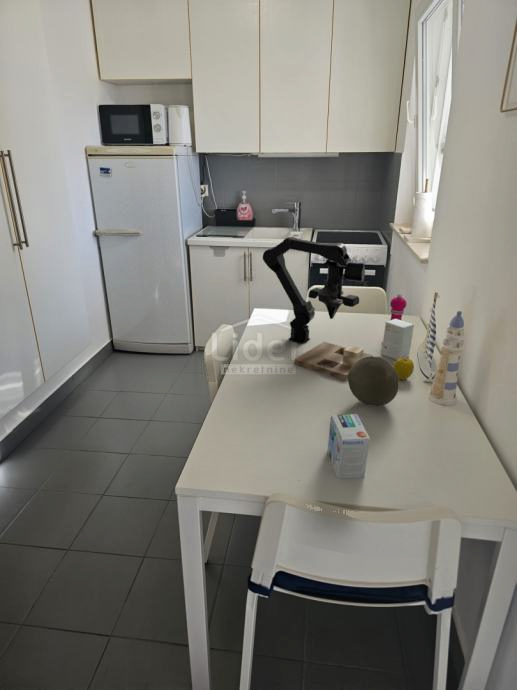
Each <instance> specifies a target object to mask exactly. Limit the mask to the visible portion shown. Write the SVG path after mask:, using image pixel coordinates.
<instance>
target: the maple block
mask: <svg viewBox="0 0 517 690" xmlns="http://www.w3.org/2000/svg"><path fill="white" fill-rule="evenodd" d="M345 348H346V349H344V353H342V355H343V363H345V364H348V365H351V366H353V365H354V364H355V363H356V362H357V361H358V360H360V359H362V358H363V353H364V348H362V347H357V346H354V345H348V346H347V347H345Z"/></svg>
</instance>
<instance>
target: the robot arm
mask: <svg viewBox="0 0 517 690" xmlns="http://www.w3.org/2000/svg"><path fill="white" fill-rule="evenodd" d="M289 250H294V251H298V252H299V251H300V252H304V253H308V254H313V255H319V257H320V256H321V257H322V258H324V259H325V260H326V261H325V262H324V263H322V266H324V267H327V277H326V278H327V279H326V281H325V283H324V286H323V287H322V288H320V287H315V288H312V289H310V290H309V291H308V294H307V295H308V298H309V299H317V298H318V301H319V302H321V303H323V304H324V305H325V307H326V309H327V313H328V316H329V319H331V320H333V319H334V317H335V316H336V314H337V312H338V310H339V309H340V307H341V305H344V306H345V307H349V308H353V307H355V306H357V305H358V304H360V298H359V296H358V295H353V294H348V295H346V296H343V295H344V291H343V285H344V284H345V280H347V281H349V282H350V281H351V282H352V281H353V282H358V283H359V282H360V283H363V282H364V280H365V277H366V276H365V275H366V267H365V265H366V263H365V262H358V261H357V262H356V261H355V262H354V261H352V259H351V257H350V255H348V252H347V251H348V249H347V247H346V245H345V244H343V243H342V242H329V243H322V242H318V241H317V242H316V241H311V240H306V239H302V238H296V237H293V236H289V237H286V238H284V240H282V241H281V242H280V243H279V244H277V245H275V246H273V247H270V248H268V249H267V250H265V251H263V253H262V260H263V262H264V264H266V266H267V267H268V268H269V269H270V270H271V271H272V272H274V274H275V275H276V277H277V278H278V281H279V283H280V284H281V287H283V290H284V291H285V293H286V295H287V297H288V299H289V301H290V303H291V304H292V308H293V315H294V318H293V319H292V320H291V321H290V322H289V326H290V337H288V341H290V342H293V343H297V344H304V343H306V342H307V341H309V340H311V338H310V329H309V327H310V326H309V325H308V324H309V323H310V322H312V320H313V319H314V318H315V315H316V312H315V309H316V308H315V307H314V306H313V304H312V302H311V300H308V301H306V300H305V299H304V298H303V296H302V295H301V293H300V290H299V289H298V287H297V285H296V284H295V282H294V279H293V278H292V277H291V274H290V272H289V271H288V269H287V265H286V260H285V254H286V253H287V252H288V251H289ZM344 278H345V280H344Z"/></svg>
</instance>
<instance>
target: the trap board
mask: <svg viewBox="0 0 517 690" xmlns="http://www.w3.org/2000/svg"><path fill="white" fill-rule="evenodd" d="M346 348H347V347H344V346H341V345H338V344H333V343H331V342H326V341H323V342H321V343H319V344H318V345H316V346H314V347H312V348H311V349H309V350H307V351H306V352H303V353H302V354H301V355H299V356H297V357H295V358H294V365H295V366H297V367H298V366H299V367H301V368H305V369H308V370H311V371H314V372H318V373H320V374H323V375H326V376H330V377H332V378H335V377H336V378H335V379H339V380H342V381H345V380H346V381H348V375H349V372H350V370H351V368H352V366H351V365H348V364H345V363H343V354H344V349H346ZM370 356H372V357H374V356H373V354H369V353H366V352H363V358H364V357H370ZM323 365H327V366H330V367H332V368H328V367H326V366H323Z"/></svg>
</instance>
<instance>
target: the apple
mask: <svg viewBox="0 0 517 690" xmlns="http://www.w3.org/2000/svg"><path fill="white" fill-rule="evenodd" d="M392 366H393V368H394V369H395V371H396V372H397V374H398V378H399V380H407V379H409V377H411V376H412V374H413V372H414V369H415V365H414V361H413V360H411V358H409V357H407V358H399V359H398V360H396V361H395V362H394V363H393V365H392Z"/></svg>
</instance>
